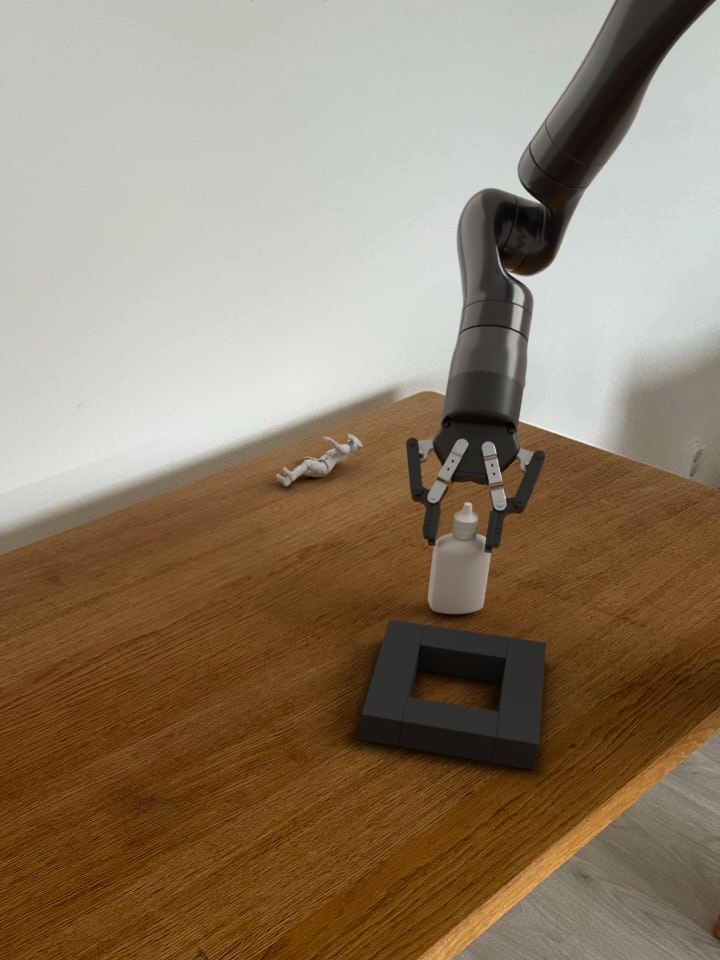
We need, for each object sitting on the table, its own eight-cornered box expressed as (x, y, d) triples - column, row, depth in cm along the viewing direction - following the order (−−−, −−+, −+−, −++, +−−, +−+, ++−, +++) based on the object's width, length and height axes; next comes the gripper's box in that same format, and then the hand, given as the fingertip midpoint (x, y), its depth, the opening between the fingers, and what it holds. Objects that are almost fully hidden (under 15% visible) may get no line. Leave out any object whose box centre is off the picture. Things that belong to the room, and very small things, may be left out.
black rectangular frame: (541, 667, 98) (546, 642, 96) (533, 770, 86) (538, 744, 84) (386, 643, 101) (389, 619, 100) (359, 740, 90) (361, 714, 88)
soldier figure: (266, 483, 132) (327, 430, 136) (291, 511, 132) (351, 458, 136) (287, 463, 125) (350, 408, 129) (312, 493, 125) (375, 437, 129)
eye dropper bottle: (435, 589, 108) (446, 488, 101) (487, 601, 106) (502, 499, 99) (422, 610, 105) (433, 508, 98) (475, 623, 103) (490, 520, 96)
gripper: (412, 362, 100) (384, 528, 97) (563, 374, 96) (537, 546, 94) (415, 393, 107) (389, 548, 105) (556, 405, 104) (532, 566, 101)
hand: (459, 546), depth 99 cm, fingers closed on eye dropper bottle, 5 cm apart
